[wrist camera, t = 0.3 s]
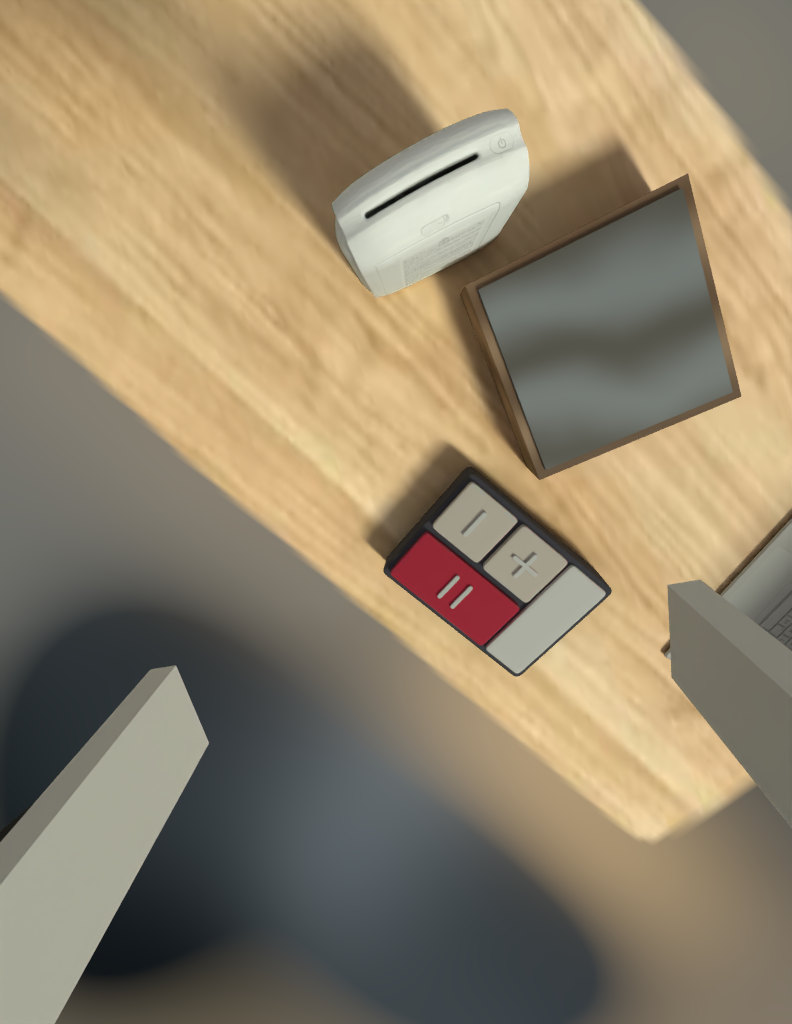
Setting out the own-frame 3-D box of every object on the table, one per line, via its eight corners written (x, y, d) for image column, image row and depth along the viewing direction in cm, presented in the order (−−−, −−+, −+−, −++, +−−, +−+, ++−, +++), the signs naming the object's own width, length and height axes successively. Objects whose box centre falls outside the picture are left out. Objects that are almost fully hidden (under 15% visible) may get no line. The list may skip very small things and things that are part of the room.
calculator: (471, 472, 34) (618, 596, 36) (468, 462, 38) (600, 573, 40) (379, 575, 37) (518, 685, 39) (385, 555, 41) (511, 655, 43)
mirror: (460, 294, 33) (465, 285, 29) (654, 196, 31) (690, 171, 27) (527, 467, 37) (540, 480, 33) (705, 392, 34) (744, 396, 30)
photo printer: (483, 175, 31) (521, 61, 19) (505, 241, 32) (554, 171, 20) (346, 247, 33) (305, 183, 21) (372, 307, 34) (346, 278, 22)
